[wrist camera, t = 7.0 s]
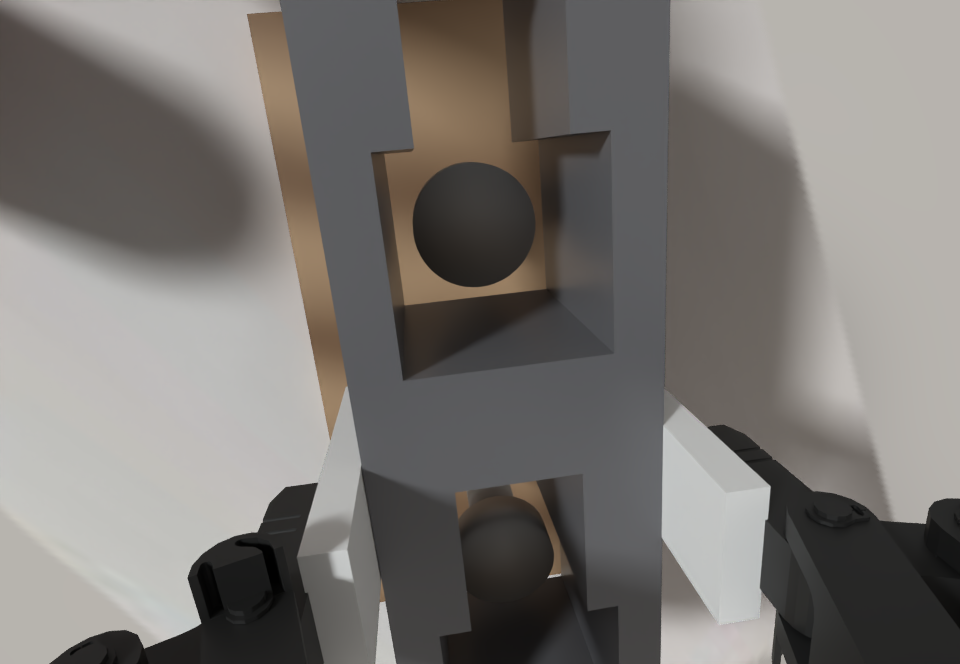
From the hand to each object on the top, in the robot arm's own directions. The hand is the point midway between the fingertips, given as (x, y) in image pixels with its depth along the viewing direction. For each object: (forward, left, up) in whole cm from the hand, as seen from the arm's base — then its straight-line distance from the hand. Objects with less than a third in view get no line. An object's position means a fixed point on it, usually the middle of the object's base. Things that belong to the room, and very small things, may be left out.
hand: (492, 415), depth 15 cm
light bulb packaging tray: (-2, 0, -1) cm, 2 cm away
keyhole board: (0, 0, -8) cm, 9 cm away
